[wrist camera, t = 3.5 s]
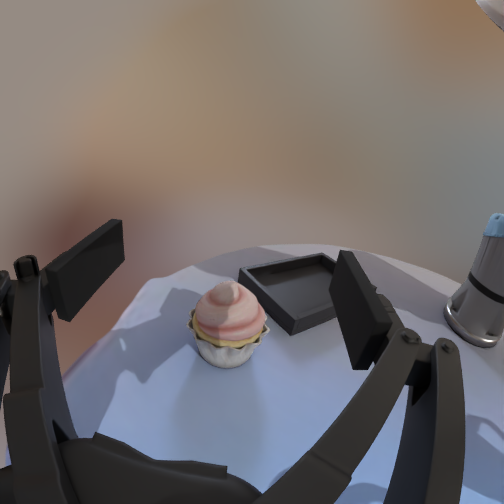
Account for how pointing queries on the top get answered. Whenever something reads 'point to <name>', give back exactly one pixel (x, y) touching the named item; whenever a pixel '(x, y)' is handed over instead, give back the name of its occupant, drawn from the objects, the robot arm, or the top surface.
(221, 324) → the cupcake
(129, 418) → the top surface
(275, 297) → the baking tray
